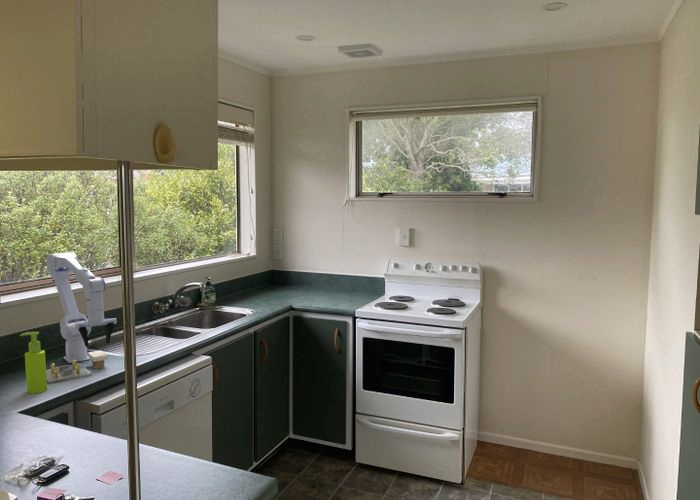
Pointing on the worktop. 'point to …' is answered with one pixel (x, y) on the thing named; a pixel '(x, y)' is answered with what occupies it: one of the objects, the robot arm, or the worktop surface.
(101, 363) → the wooden block
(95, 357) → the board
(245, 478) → the worktop surface
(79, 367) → the chassis
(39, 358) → the soap dispenser
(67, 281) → the robot arm
